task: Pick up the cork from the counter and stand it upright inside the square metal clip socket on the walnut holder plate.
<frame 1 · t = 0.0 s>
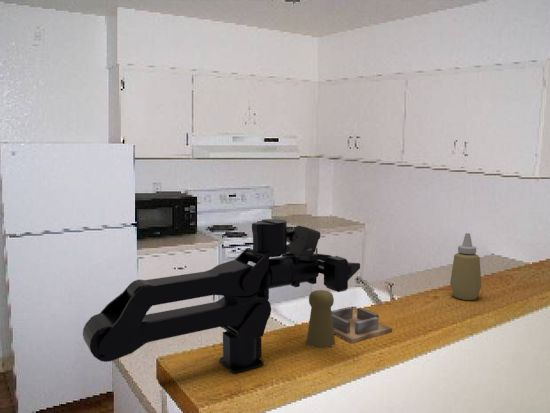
hand: (344, 261, 99), 17 cm above the counter, tool horizontal, fingers open, 9 cm apart
cork: (320, 343, 97), on the counter
squeeze bottle: (465, 298, 128), on the counter
clip holder: (353, 328, 105), on the counter
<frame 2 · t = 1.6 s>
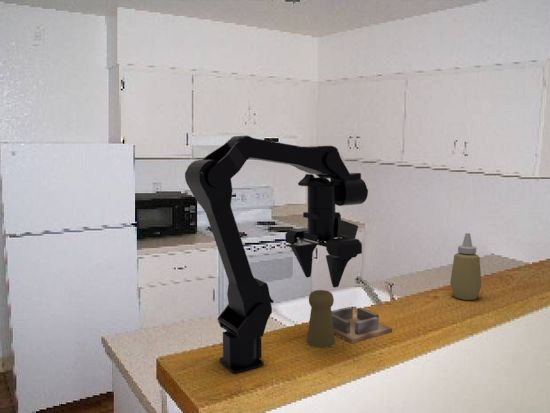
hand: (321, 281, 96), 13 cm above the counter, tool pointing down, fingers open, 9 cm apart
nothing on the counter moved.
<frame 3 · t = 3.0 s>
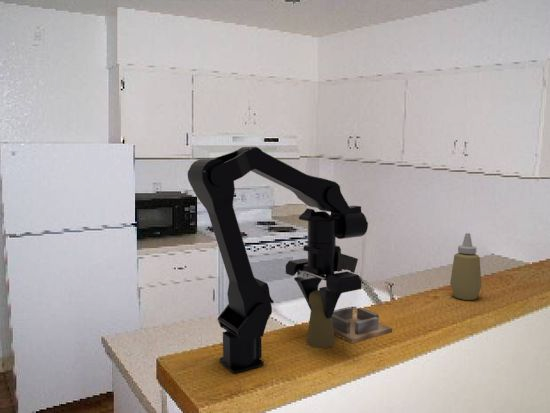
hand: (321, 314, 97), 6 cm above the counter, tool pointing down, fingers closed on cork, 5 cm apart
cork: (320, 343, 97), on the counter, touching gripper
everything else where it was.
when the fingers open (8 cm above the counter, at t = 6.5 s): cork drops 1 cm, resting on clip holder.
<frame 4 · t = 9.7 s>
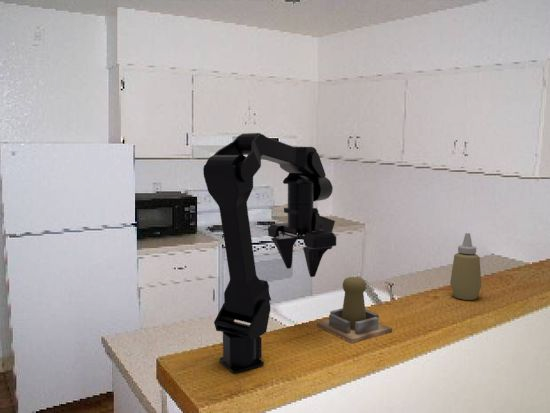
hand: (300, 272, 104), 13 cm above the counter, tool pointing down, fingers open, 9 cm apart
cork: (353, 326, 105), point 1 cm above the counter, touching clip holder
everything else where it was.
at the end: cork 0.1 cm off-centre on the clip holder, point 0.6 cm above the clip holder's base; cork tilted 0°; the gripper is holding nothing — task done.
